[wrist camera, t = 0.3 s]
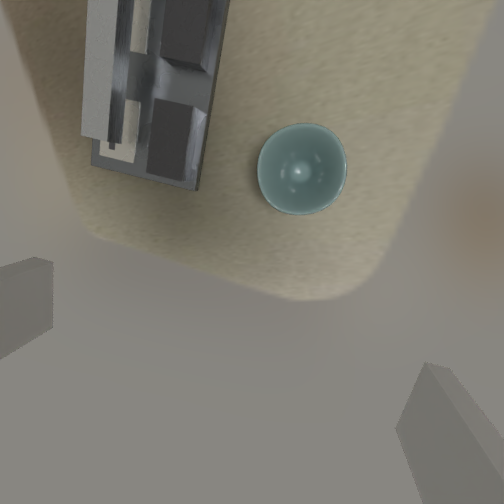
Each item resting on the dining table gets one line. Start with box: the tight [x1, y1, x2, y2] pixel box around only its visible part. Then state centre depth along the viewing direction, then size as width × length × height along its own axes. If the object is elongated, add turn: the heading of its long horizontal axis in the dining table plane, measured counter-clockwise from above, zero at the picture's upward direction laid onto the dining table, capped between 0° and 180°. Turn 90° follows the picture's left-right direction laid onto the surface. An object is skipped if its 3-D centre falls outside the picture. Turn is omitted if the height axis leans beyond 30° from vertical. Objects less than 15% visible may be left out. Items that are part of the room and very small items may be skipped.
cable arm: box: [81, 0, 135, 144], centre depth 28 cm, size 22×4×3 cm, turn 167°
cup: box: [257, 123, 347, 215], centre depth 29 cm, size 8×8×10 cm
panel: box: [91, 0, 230, 191], centre depth 32 cm, size 26×14×4 cm, turn 167°
